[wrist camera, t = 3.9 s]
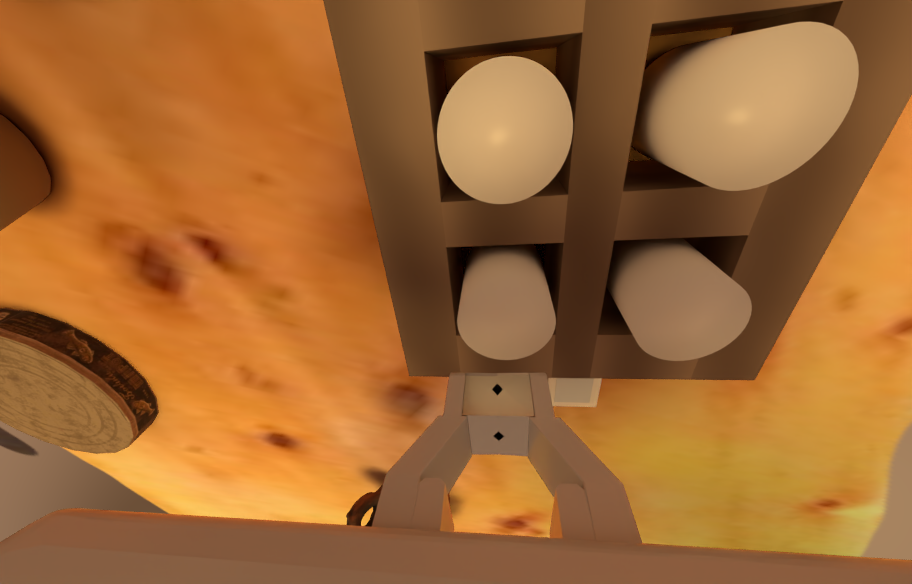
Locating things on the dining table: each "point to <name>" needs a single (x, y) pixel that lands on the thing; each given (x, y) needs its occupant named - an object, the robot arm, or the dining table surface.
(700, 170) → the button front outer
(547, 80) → the beige egg
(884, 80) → the button board
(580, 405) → the tile
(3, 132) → the squeeze bottle
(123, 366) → the brown wooden disc
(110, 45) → the dining table surface
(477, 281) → the egg
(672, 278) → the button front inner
